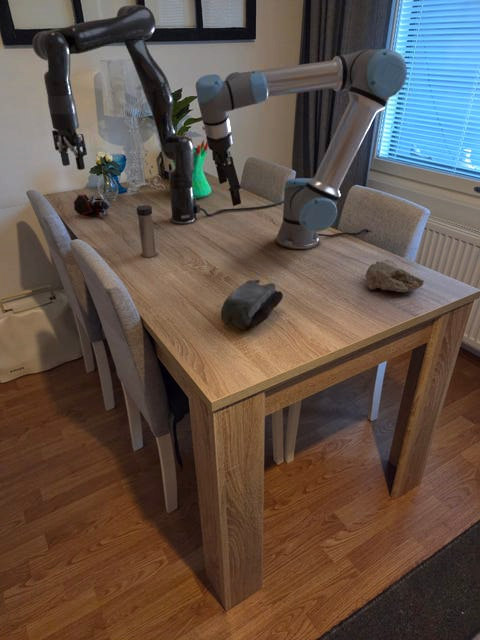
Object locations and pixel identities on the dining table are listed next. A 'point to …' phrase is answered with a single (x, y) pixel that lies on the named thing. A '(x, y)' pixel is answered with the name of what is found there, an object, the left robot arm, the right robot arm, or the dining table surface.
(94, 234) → the dining table surface
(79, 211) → the toy
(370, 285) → the artifact
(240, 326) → the dark grey soft lump
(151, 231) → the brown long cylinder
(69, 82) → the left robot arm
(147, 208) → the lid
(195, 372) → the dining table surface
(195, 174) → the toy
